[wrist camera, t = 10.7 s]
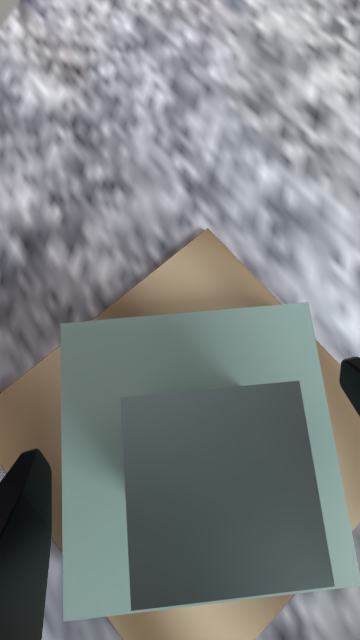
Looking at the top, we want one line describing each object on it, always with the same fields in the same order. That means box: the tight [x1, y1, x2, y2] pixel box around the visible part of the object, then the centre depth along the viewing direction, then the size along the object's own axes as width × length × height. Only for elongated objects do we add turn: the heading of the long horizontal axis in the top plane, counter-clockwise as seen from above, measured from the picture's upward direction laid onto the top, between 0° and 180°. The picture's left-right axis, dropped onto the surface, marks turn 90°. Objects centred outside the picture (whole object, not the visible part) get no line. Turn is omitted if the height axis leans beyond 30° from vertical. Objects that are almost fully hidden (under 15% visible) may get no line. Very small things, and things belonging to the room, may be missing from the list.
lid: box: [60, 302, 360, 622], centre depth 11 cm, size 11×11×8 cm
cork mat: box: [0, 228, 360, 640], centre depth 15 cm, size 15×15×1 cm
